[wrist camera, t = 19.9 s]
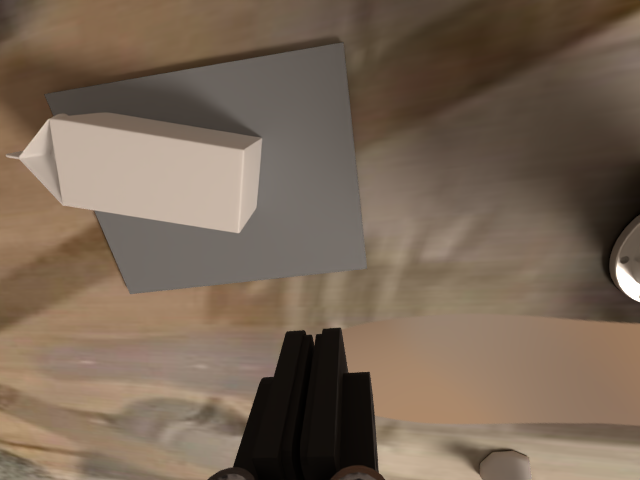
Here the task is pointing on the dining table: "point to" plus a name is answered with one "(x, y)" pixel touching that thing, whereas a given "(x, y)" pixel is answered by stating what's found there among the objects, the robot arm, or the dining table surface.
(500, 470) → the flask
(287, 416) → the robot arm
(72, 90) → the mat
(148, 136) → the milk carton
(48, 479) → the dining table surface
